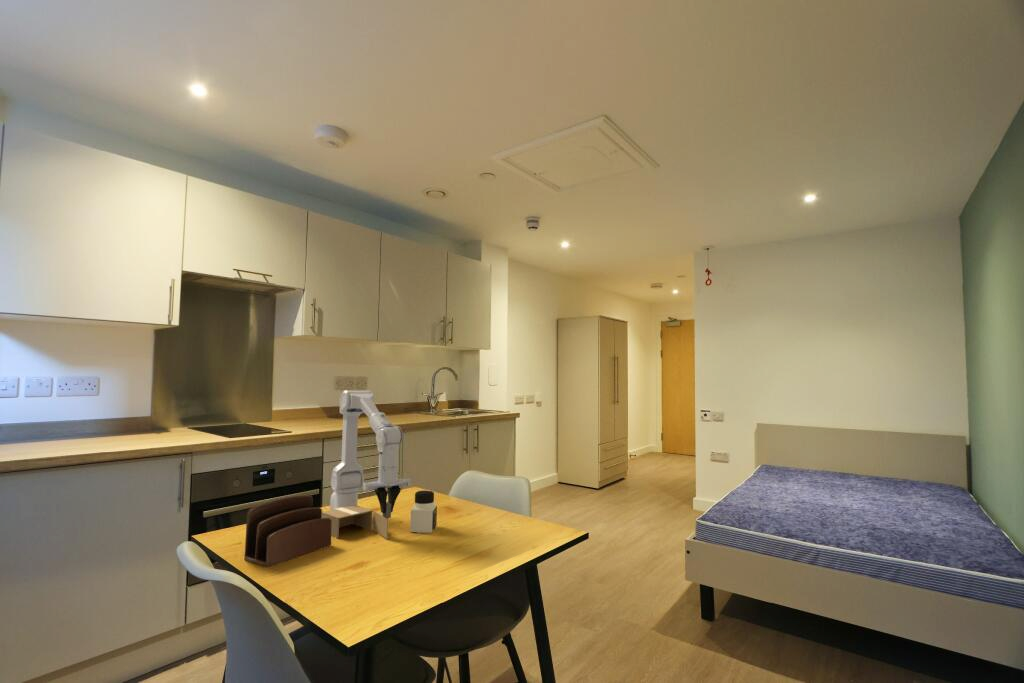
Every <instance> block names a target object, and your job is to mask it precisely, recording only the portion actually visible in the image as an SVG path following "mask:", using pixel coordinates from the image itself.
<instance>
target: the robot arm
mask: <svg viewBox="0 0 1024 683" xmlns="http://www.w3.org/2000/svg"><path fill="white" fill-rule="evenodd" d="M339 414H341V415H342V437H341V438H342V439H341V440H342V441H341V460H340V461H341V462H340V463H338V464H337V465H336V466H335V467H333V469H332V475H331V478H330V487H331V489H332V490H333V493H332V494H331V496H330V501H329V502H330V504H329V510H333V509H336V508H341V507H347V506H352V505H357V506H358V504H359V503H358V500H359V498H358V496H359V491H361V488H362V491H364V492H367V491H368V492H369V491H372V490H374V492H375V495H376V497H377V499H378V502H379V507H380V513H382V514H383V513H386V502H388V503H390V504H391V513H393V512H394V507H395V503H396V501H397V499H398V497H399V495H400V493H401V490H402V488H401V487H405V486H408V487H409V486H412V479H411V478H409V477H408V478H399V477H398V476H399V475H398V474H399V472H398V471H399V446H400V445H401V444H402V443H403V438H404V437H403V436H404V434H403V430H402V428H401V426H400V425H395V424H393V423H392V421H390V419H389V418H388V417H387V415H386V414H385V412H382V411H381V412H380V411H379V409H378V407H377V405H376V404H375V395H374V394H373V392H372V391H371V390H369V389H368V390H343V392H342V393H341V395H340V396H339ZM361 414H365V415H366V416H367V418H368V425H369V426H370V428H371V429H372V431H373V432H374V433H375V435H376V436H375V441H376V444H377V445H376V446H377V451H378V472H377V473H378V474H377V475H378V476H377V477H378V479H377V480H376V481H368V482H365V477H364V476H365V475H364V468H363V466H362V465H361V464H360V463H358V462H357V461H358V460H357V458H358V457H357V454H358V433H359V432H358V429H359V428H358V427H359V426H358V425H359V417H360V415H361Z"/></svg>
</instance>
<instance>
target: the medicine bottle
mask: <svg viewBox="0 0 1024 683" xmlns="http://www.w3.org/2000/svg"><path fill="white" fill-rule="evenodd" d="M437 513H438V504H435V492H434V491H432V490H429V489H428V490H427V489H424V490H423V489H422V490H418V491H416V492H415V493H414V505H413V507H412V508H411V509H410V529H409V532H410V533H411V532H417V533H416V534H418V533H419V534H432V532H433V533H434V531H435V529H436V528H437V525H438V524H437V521H438V520H437V518H438V517H437V515H438V514H437Z"/></svg>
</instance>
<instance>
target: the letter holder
mask: <svg viewBox="0 0 1024 683" xmlns="http://www.w3.org/2000/svg"><path fill="white" fill-rule="evenodd" d="M313 500H314V498H313V496H312V495H310V494H309V495H308V494H307V495H296V496H287V497H284V498H278V499H275V500H270V501H268V502H265V503H264V502H263V503H261V504H259V505H256V506H254V507H251V508H249V510H248V511H247V514H246V526H245V544H244V558H243V559H244V560H245V561H247V562H249V561H250V563H252V562H253V564H255V563H256V565H259V566H261V565H262V566H261V567H265V568H268V567H271V566H274V565H278V564H280V562H281V563H283V561H284V562H286V561H289V560H293V559H295V558H298V557H300V555H301V556H304V555H307V554H310V553H313V552H315V550H316V551H318V550H322V549H325V548H328V547H330V545H331V546H332V536H331V526H332V521H331V519H330V518H322V512H323V509H322V507H319V506H317V507H313V502H314V501H313ZM327 546H328V547H327ZM324 547H325V548H324ZM321 548H322V549H321ZM297 556H298V557H297Z"/></svg>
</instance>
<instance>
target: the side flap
mask: <svg viewBox="0 0 1024 683" xmlns="http://www.w3.org/2000/svg"><path fill="white" fill-rule="evenodd" d="M391 518H392V512H391V504H390V503H388V501H386V513H382V514H381V512H378V511H376V510H373V512H372V530H374V531H375V532H376V533H377V534H379V535H380V536H382V537H383V538H384V539H387V540H388V537H389V536H388V535H389V519H391Z"/></svg>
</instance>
